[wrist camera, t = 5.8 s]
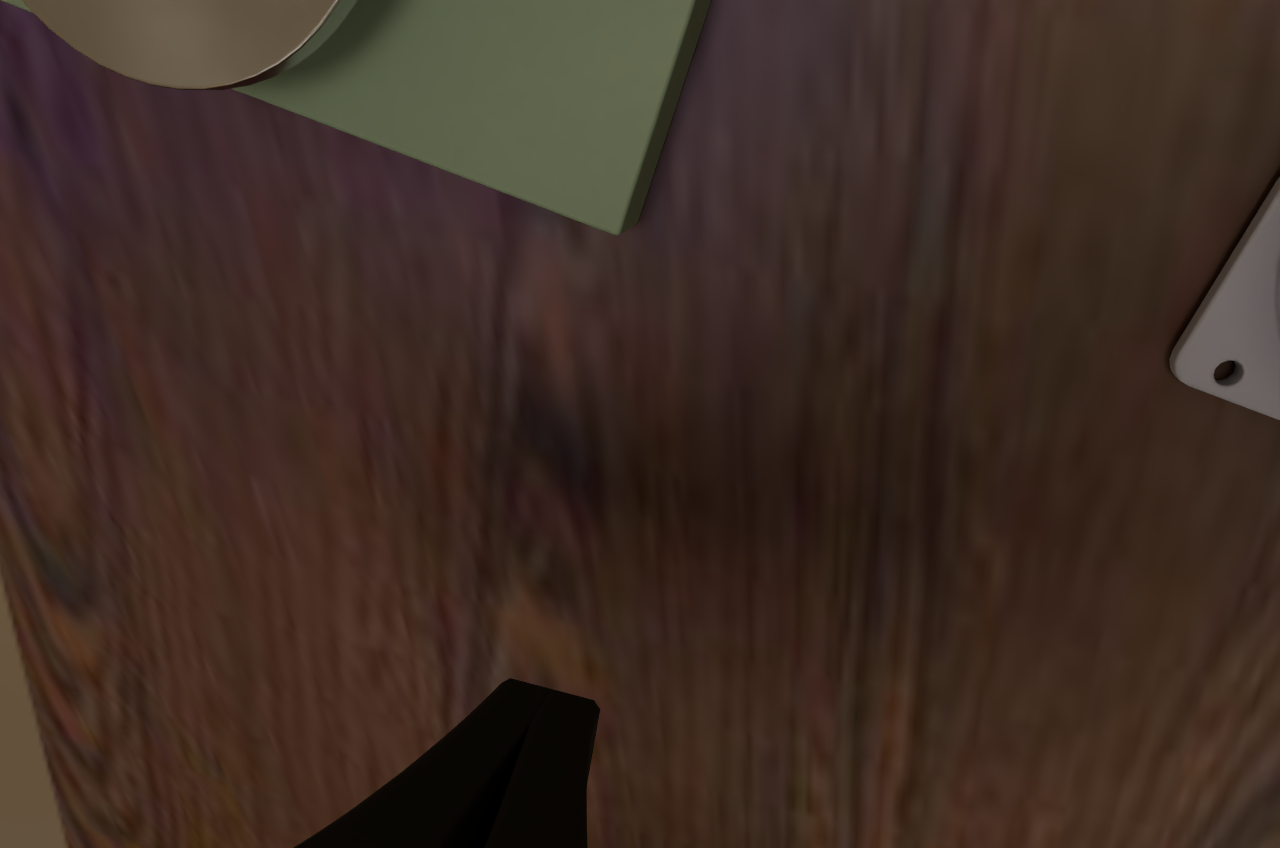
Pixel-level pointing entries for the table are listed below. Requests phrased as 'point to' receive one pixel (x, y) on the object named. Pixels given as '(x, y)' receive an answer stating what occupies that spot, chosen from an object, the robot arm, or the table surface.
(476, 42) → the scale
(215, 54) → the brushed metal disc
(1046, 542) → the table surface
